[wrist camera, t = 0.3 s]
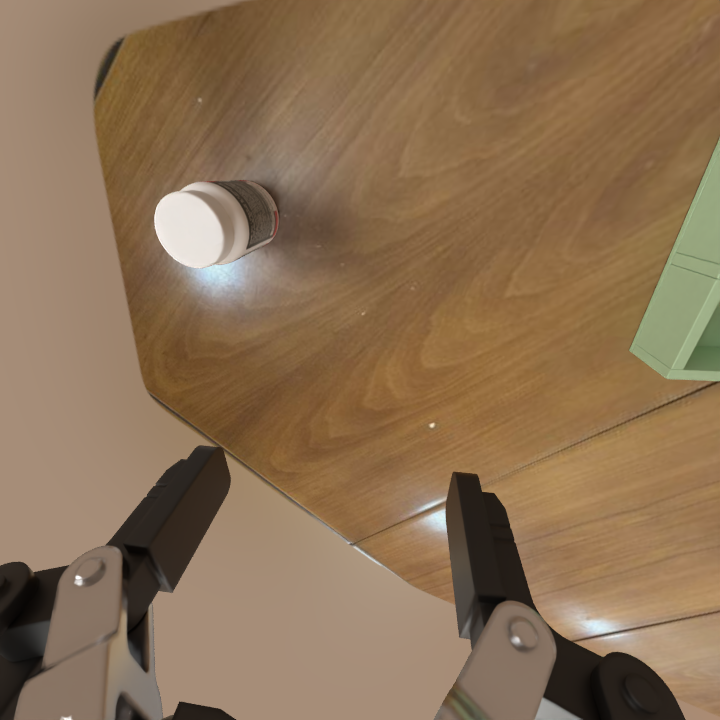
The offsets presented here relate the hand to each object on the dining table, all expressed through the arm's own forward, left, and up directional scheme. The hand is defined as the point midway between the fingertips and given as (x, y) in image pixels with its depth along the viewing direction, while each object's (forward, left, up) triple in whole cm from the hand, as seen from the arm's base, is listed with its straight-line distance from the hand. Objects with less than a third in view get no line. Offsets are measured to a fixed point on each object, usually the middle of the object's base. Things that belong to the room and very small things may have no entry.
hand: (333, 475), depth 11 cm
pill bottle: (-7, -10, -19) cm, 22 cm away
